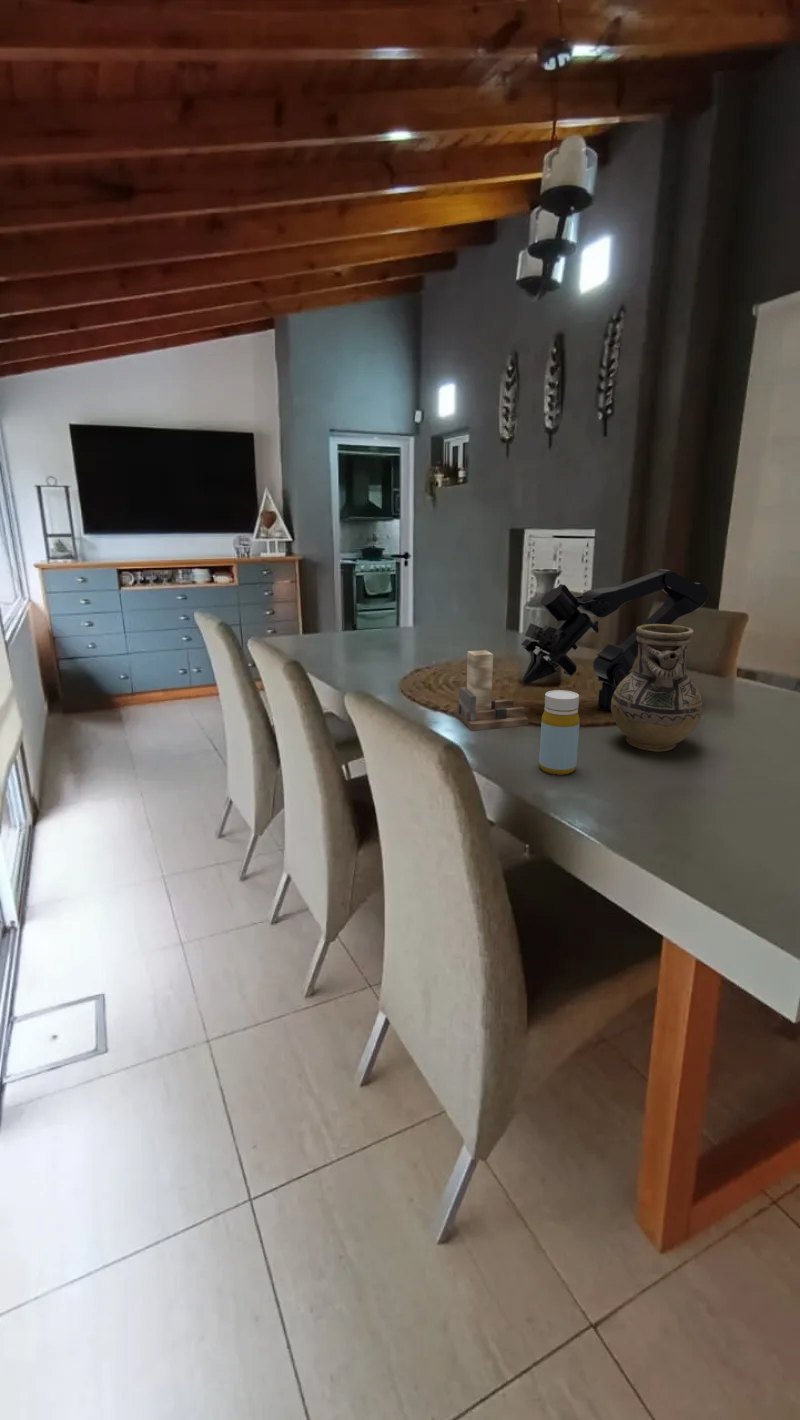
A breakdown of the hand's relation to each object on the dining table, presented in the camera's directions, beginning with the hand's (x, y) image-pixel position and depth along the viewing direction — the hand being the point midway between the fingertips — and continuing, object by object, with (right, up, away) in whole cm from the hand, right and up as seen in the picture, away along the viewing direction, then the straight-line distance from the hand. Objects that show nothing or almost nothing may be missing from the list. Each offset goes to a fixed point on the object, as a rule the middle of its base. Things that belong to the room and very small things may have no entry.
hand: (523, 683), depth 153 cm
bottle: (+1, -18, -28) cm, 33 cm away
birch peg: (-11, -8, 0) cm, 13 cm away
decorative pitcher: (+24, -14, -16) cm, 32 cm away
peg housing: (-8, -9, +1) cm, 12 cm away
